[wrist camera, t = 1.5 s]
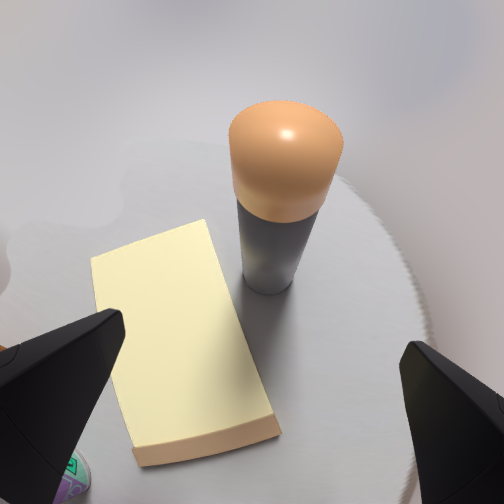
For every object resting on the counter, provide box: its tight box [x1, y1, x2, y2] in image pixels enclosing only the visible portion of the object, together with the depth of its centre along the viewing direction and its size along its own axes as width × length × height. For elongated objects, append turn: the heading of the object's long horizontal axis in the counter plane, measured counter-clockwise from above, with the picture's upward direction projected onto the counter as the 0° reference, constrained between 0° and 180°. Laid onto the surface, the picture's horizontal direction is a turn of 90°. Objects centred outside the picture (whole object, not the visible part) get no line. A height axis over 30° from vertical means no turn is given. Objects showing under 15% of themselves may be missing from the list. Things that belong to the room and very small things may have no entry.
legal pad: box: [91, 219, 282, 467], centre depth 19 cm, size 18×11×1 cm, turn 20°
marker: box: [229, 101, 343, 295], centre depth 16 cm, size 4×4×14 cm
